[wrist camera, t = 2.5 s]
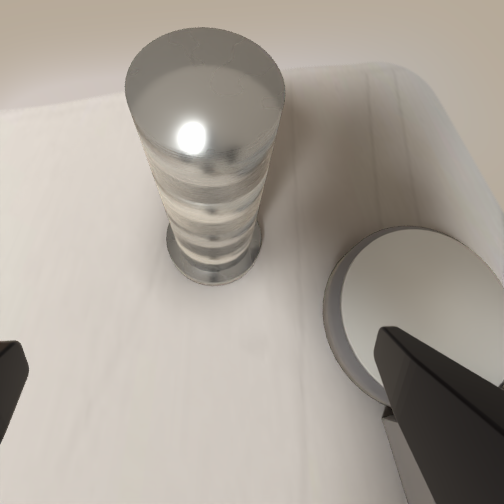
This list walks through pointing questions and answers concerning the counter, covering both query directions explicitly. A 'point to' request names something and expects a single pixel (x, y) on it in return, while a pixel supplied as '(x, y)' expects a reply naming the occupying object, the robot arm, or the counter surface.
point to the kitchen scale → (414, 316)
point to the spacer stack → (208, 143)
